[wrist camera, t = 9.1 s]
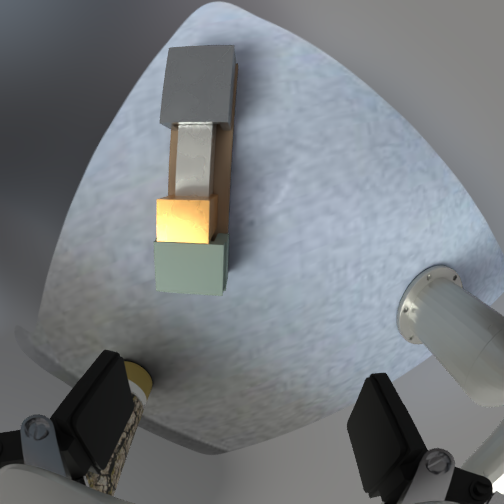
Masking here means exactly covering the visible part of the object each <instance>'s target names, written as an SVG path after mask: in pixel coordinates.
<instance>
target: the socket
mask: <svg viewBox="0 0 504 504" xmlns="http://www.w3.org/2000/svg"><path fill="white" fill-rule="evenodd" d="M228 254H229V234H226V233H218V234H217V237H216V239H215V241H209V243H187V242H166V241H157V238H156V240H155V241H154V261H155V279H156V291H159V292H172V293H184V294H199V295H214V296H222V295H223V291H225V290H226V284H227V279H228Z"/></svg>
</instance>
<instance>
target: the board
mask: <svg viewBox="0 0 504 504" xmlns="http://www.w3.org/2000/svg"><path fill="white" fill-rule="evenodd" d="M237 75H238V64H236V69H235V81H234V94H233V107H232V121H231V131H225V130H223V129H222V127H221V125H220V124H217V125H216V140H215V157H214V176H213V194H218V217H217V229H216V230H215V232H214V234H213V236H212V238H211V241H215V239H216V237H217V234H218V233H226V234H228V223H229V201H230V181H231V162H232V146H233V130H234V115H235V101H236V88H237ZM177 143H178V130H176V131H173V130H171V141H170V158H169V182H168V196H170V195H173V194H175V185H176V161H177Z"/></svg>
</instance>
